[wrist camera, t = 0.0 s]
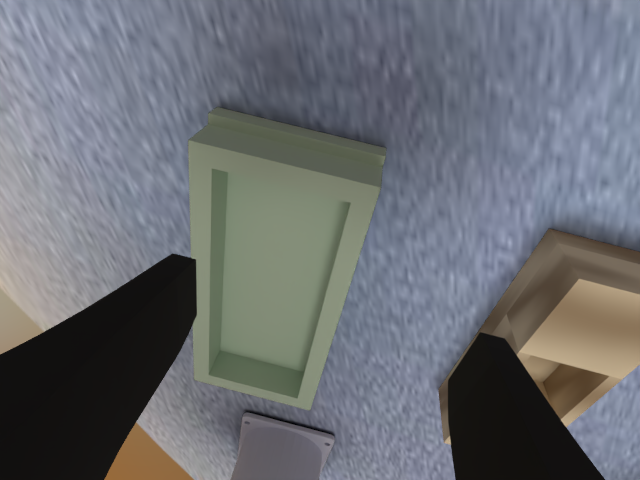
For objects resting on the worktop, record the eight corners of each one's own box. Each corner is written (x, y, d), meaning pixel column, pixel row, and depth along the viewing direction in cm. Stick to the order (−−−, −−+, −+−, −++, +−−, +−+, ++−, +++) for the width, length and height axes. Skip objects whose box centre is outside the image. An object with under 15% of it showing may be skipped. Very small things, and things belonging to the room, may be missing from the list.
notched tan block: (507, 404, 27) (522, 464, 23) (438, 385, 27) (443, 442, 23) (648, 251, 18) (702, 310, 15) (547, 225, 18) (579, 278, 15)
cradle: (316, 376, 28) (308, 414, 25) (211, 348, 28) (194, 384, 26) (386, 148, 17) (384, 176, 15) (217, 107, 17) (187, 128, 15)
